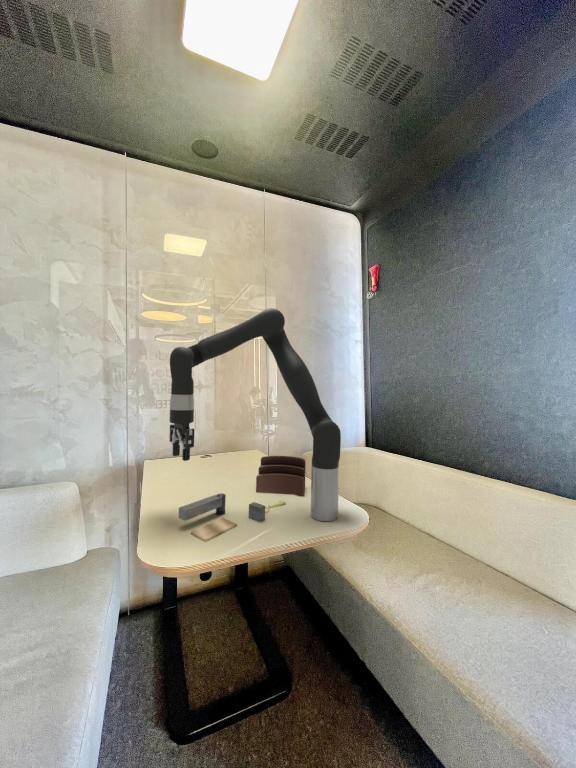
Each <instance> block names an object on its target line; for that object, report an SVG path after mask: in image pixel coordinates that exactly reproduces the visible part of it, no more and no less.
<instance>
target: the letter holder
mask: <svg viewBox="0 0 576 768" xmlns="http://www.w3.org/2000/svg"><path fill="white" fill-rule="evenodd" d="M306 464H307V463H306V459H304V458H301V457H297V456H289V455H266V456H262V457H261V458H260V465H259V467H258V474H257V475H256V478H255V481H256V482H255V484H256V485H255V493H262V494H278V495H292V496H293V495H294V496H296V497H301V496H304V497H305V491H306Z"/></svg>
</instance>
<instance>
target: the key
mask: <svg viewBox="0 0 576 768" xmlns="http://www.w3.org/2000/svg"><path fill="white" fill-rule="evenodd" d="M286 504H287V502H286V500H279V501H278V502H277V503H274V504H271V505H270V504H268V505H265V504H263V505H264V506H265V514H267V513H269V512H270V510H271V509H273V508H277V507H280V506H281V507H282V506H285V505H286Z"/></svg>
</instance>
